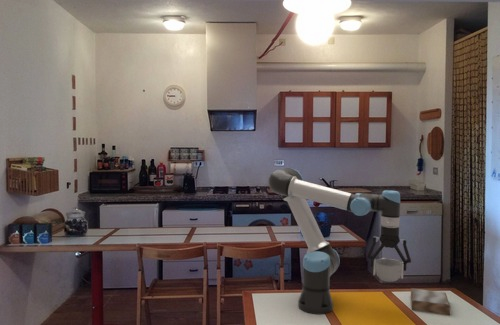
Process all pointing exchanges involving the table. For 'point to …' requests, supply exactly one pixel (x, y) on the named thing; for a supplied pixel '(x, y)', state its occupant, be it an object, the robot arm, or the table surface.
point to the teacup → (388, 269)
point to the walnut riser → (430, 301)
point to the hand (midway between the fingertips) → (388, 276)
